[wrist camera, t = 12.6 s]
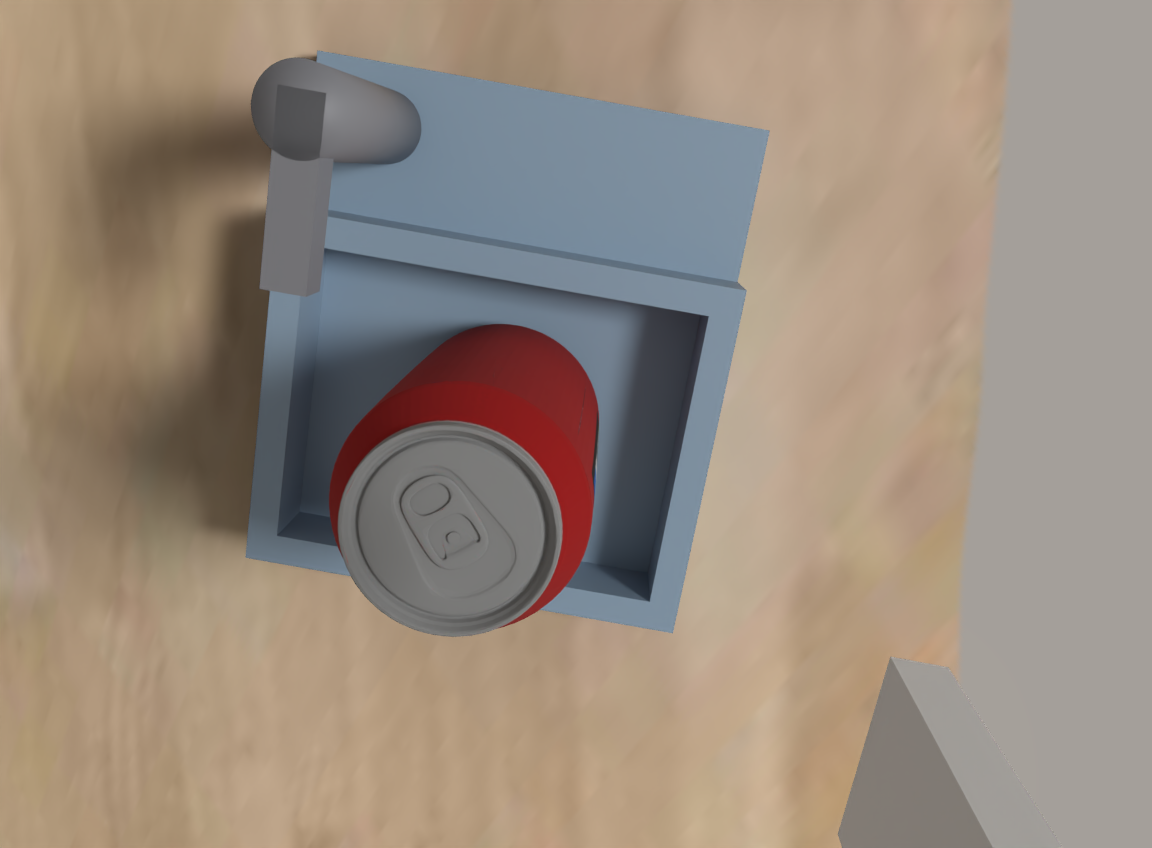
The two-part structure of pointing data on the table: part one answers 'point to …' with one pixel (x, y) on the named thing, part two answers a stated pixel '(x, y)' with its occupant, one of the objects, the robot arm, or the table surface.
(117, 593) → the table surface
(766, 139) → the light blue hollow tray
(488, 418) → the beverage can
